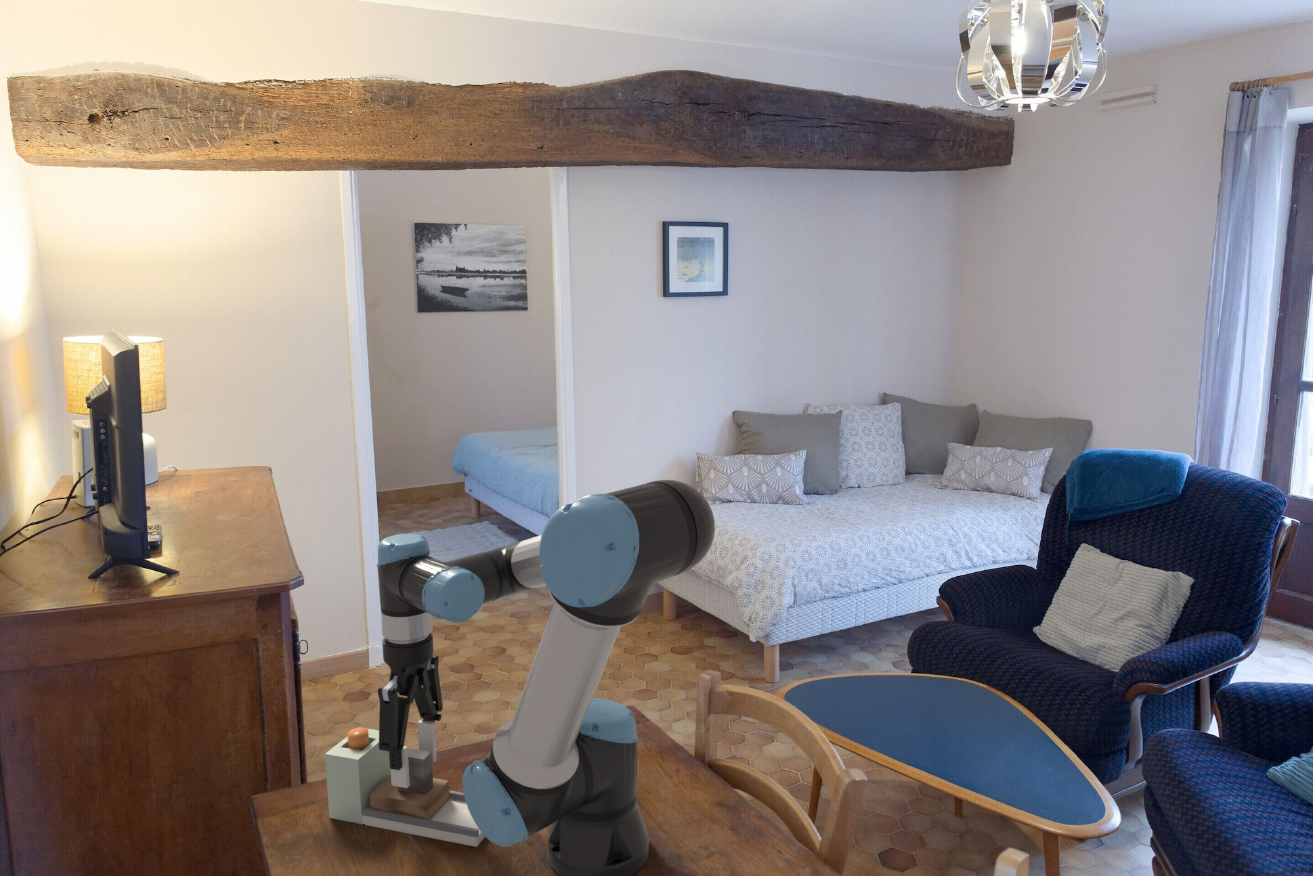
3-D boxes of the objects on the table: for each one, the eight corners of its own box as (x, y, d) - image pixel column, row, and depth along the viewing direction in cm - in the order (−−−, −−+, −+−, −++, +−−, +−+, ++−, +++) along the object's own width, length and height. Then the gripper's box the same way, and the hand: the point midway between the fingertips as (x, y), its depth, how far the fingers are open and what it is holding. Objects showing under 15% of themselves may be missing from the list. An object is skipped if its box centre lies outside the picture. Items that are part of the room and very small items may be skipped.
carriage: (449, 797, 149) (447, 746, 147) (427, 822, 142) (424, 768, 141) (395, 787, 152) (392, 737, 150) (370, 811, 145) (367, 758, 143)
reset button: (373, 743, 149) (372, 729, 149) (361, 752, 146) (360, 738, 146) (356, 740, 150) (355, 726, 149) (344, 749, 147) (343, 735, 146)
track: (503, 813, 147) (503, 799, 147) (476, 846, 139) (476, 831, 138) (394, 793, 153) (393, 779, 153) (362, 824, 145) (361, 809, 144)
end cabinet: (394, 793, 153) (390, 732, 151) (362, 824, 145) (358, 759, 143) (362, 788, 155) (359, 727, 153) (329, 817, 146) (324, 753, 144)
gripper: (420, 609, 152) (427, 738, 156) (346, 658, 133) (355, 803, 137) (461, 614, 150) (466, 744, 154) (391, 664, 131) (400, 811, 135)
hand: (414, 771), depth 146 cm, fingers open, 7 cm apart
